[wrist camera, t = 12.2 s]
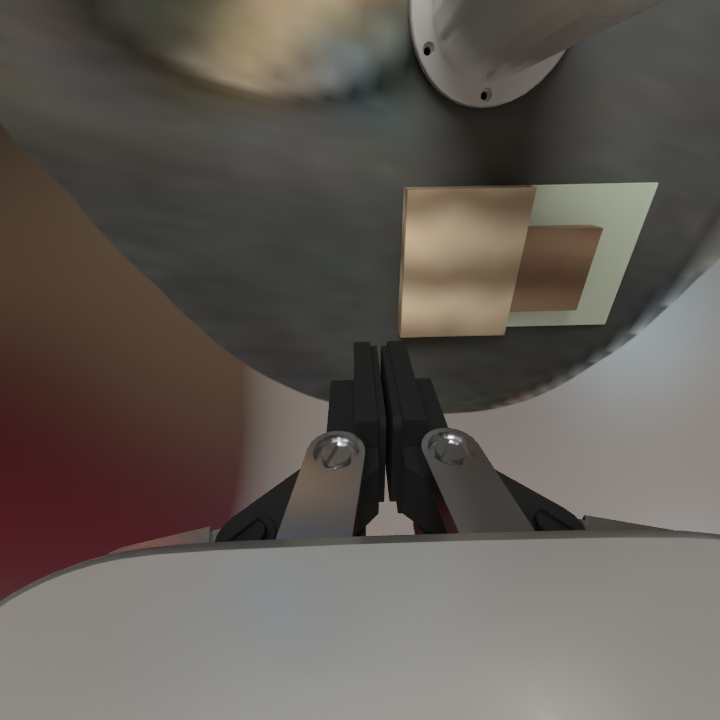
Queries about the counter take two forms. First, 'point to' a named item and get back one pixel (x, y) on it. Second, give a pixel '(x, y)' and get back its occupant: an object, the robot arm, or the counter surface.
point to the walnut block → (554, 267)
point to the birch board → (461, 258)
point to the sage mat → (620, 232)
